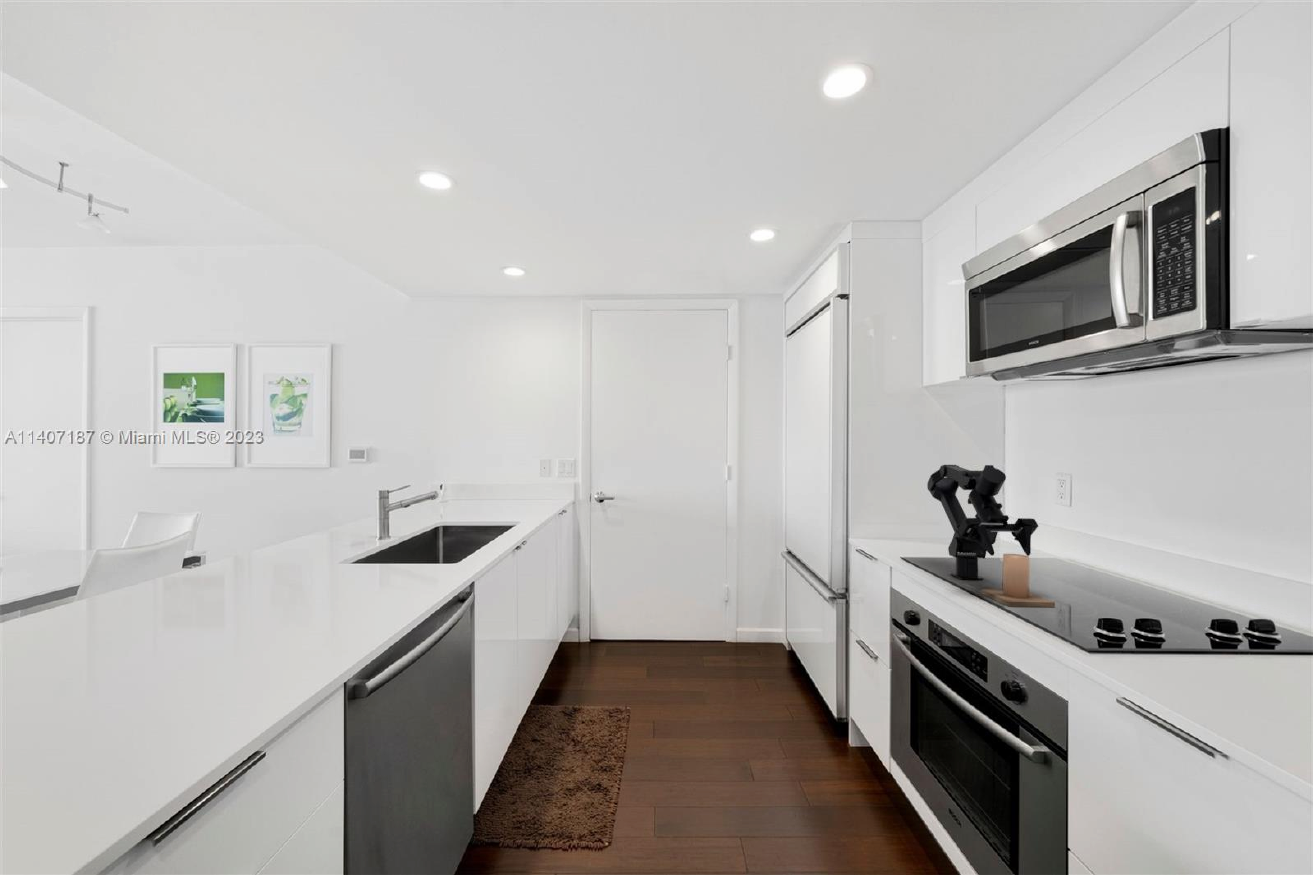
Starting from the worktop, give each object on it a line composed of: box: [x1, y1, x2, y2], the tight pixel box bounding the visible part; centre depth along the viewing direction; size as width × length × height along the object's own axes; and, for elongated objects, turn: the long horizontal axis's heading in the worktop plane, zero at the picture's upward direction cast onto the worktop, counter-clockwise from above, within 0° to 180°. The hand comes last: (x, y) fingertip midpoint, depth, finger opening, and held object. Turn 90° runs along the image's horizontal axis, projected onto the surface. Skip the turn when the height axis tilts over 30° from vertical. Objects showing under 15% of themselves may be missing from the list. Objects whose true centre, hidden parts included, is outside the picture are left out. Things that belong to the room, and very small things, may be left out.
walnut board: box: [980, 588, 1056, 608], centre depth 141 cm, size 12×11×1 cm
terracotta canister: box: [1002, 553, 1030, 598], centre depth 141 cm, size 6×6×10 cm
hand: (1011, 554), depth 143 cm, fingers open, 9 cm apart
